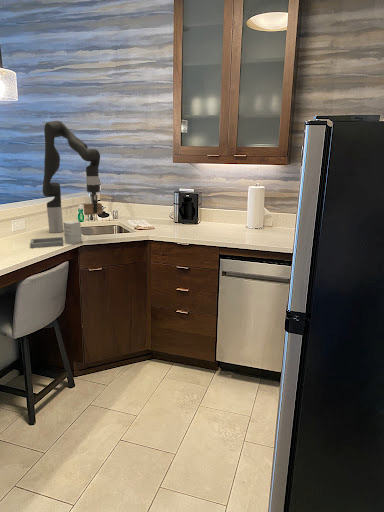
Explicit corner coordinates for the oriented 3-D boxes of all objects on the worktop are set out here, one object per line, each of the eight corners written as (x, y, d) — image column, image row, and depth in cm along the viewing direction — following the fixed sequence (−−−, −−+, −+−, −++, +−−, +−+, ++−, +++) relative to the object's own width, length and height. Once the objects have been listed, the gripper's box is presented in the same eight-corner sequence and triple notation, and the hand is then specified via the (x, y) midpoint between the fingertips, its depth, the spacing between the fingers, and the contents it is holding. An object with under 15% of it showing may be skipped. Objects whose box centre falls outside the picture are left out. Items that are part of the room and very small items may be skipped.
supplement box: (75, 240, 246) (73, 220, 243) (82, 242, 242) (80, 221, 239) (64, 242, 241) (62, 222, 238) (71, 244, 236) (70, 223, 233)
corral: (31, 243, 240) (31, 239, 240) (63, 240, 246) (62, 236, 245) (30, 248, 228) (30, 243, 227) (63, 245, 233) (63, 241, 233)
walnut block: (84, 213, 241) (83, 203, 239) (100, 212, 245) (100, 203, 243) (85, 214, 237) (84, 204, 235) (102, 213, 241) (101, 203, 239)
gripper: (85, 183, 242) (87, 211, 246) (87, 184, 229) (89, 214, 233) (98, 182, 244) (100, 210, 249) (100, 184, 231) (102, 213, 235)
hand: (95, 212), depth 241 cm, fingers closed on walnut block, 4 cm apart
